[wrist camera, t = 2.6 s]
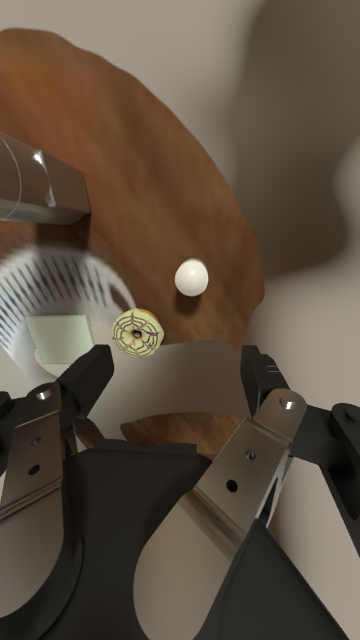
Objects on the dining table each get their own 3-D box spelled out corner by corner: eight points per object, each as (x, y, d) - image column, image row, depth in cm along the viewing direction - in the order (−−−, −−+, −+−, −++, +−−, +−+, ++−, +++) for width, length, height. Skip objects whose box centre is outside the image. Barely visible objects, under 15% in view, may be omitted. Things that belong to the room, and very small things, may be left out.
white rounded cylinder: (206, 256, 37) (208, 262, 29) (206, 283, 39) (208, 295, 31) (179, 258, 37) (173, 264, 30) (180, 284, 39) (176, 296, 32)
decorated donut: (174, 327, 43) (171, 335, 40) (145, 358, 47) (141, 368, 43) (133, 296, 41) (127, 302, 38) (107, 332, 45) (100, 340, 42)
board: (87, 314, 44) (85, 316, 43) (99, 361, 48) (97, 363, 47) (28, 316, 45) (24, 317, 44) (45, 361, 50) (42, 363, 49)
